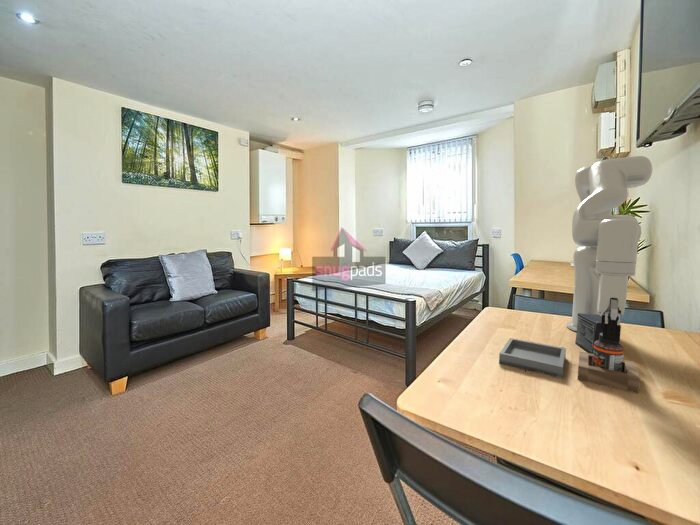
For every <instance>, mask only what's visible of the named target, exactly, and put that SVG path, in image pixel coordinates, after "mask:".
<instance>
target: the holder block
mask: <svg viewBox="0 0 700 525" xmlns="http://www.w3.org/2000/svg"><path fill="white" fill-rule="evenodd" d="M592 360H593V354H591V353H588V352H587V351H586V352H584V351H579V354H578V368H577V369H578V370H577V380H579V381H585V382H588V383H593V384H598V385H602V386H605V387H609V388H614V389H617V390H623V391H627V392H631V393H635V394H639V393H640V383H641V378H640V375H639V372H638V368H637V366H636V363H635V361H633V360H626V359H623V362H622V372H618V371H613V370H608V369H603V368H599V367H594V366H592Z"/></svg>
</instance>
